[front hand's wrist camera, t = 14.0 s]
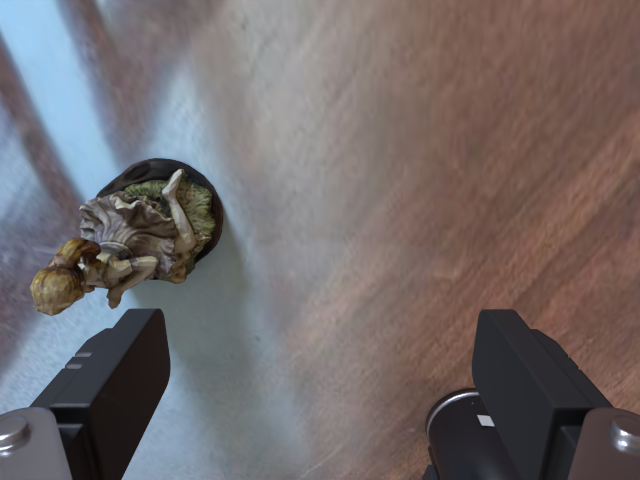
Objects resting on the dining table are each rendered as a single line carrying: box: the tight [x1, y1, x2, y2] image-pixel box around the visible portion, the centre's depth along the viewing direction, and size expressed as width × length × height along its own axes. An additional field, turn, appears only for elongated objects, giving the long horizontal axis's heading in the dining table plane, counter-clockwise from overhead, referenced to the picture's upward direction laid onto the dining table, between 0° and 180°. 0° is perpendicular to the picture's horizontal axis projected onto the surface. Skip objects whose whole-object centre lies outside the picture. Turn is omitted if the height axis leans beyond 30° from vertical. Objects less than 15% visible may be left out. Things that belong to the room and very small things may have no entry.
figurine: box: [30, 158, 223, 316], centre depth 32 cm, size 12×11×15 cm
